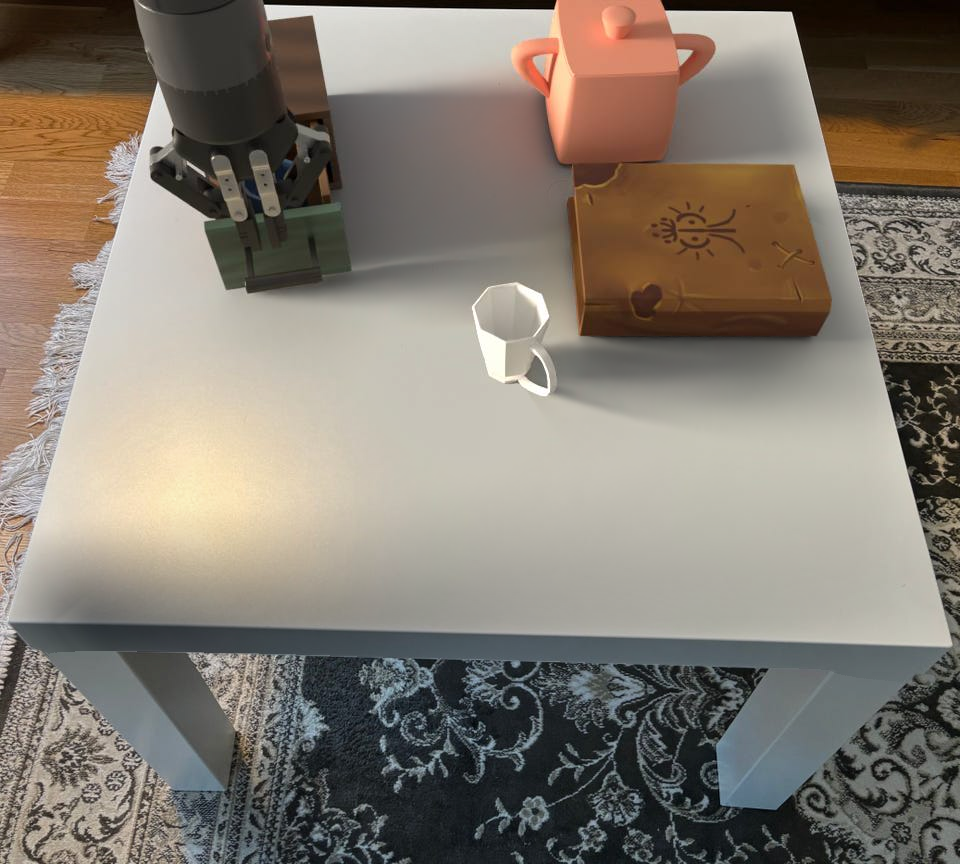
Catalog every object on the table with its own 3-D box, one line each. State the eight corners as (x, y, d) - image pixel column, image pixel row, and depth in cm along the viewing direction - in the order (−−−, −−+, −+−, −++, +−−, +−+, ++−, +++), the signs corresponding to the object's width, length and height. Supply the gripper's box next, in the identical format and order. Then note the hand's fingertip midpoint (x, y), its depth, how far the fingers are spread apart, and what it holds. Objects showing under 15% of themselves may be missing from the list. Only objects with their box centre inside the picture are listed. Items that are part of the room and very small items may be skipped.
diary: (579, 342, 86) (585, 304, 81) (566, 204, 96) (572, 163, 91) (813, 342, 87) (834, 304, 82) (778, 204, 96) (794, 162, 91)
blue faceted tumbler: (254, 244, 90) (242, 204, 85) (249, 202, 93) (238, 161, 88) (313, 235, 91) (305, 195, 86) (307, 193, 94) (298, 152, 89)
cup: (515, 324, 88) (519, 269, 81) (579, 393, 83) (589, 341, 76) (456, 357, 85) (455, 304, 78) (519, 430, 81) (524, 380, 74)
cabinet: (342, 188, 97) (330, 110, 88) (215, 206, 96) (189, 128, 87) (325, 94, 105) (312, 14, 96) (207, 109, 104) (183, 30, 95)
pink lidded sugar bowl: (708, 165, 99) (741, 56, 88) (513, 173, 98) (519, 63, 87) (676, 53, 110) (701, -59, 98) (499, 59, 109) (503, -53, 97)
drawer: (359, 311, 87) (348, 252, 80) (229, 331, 86) (207, 273, 78) (334, 172, 97) (323, 108, 90) (217, 188, 96) (197, 124, 88)
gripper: (313, -1, 58) (345, 197, 73) (100, 24, 56) (178, 221, 71) (326, 72, 54) (357, 265, 69) (99, 100, 53) (181, 291, 67)
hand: (266, 242), depth 70 cm, fingers closed
